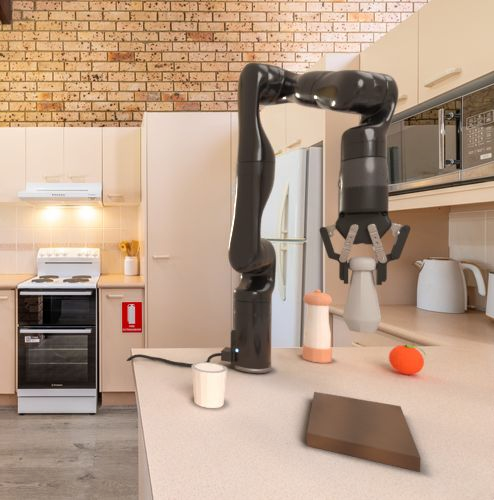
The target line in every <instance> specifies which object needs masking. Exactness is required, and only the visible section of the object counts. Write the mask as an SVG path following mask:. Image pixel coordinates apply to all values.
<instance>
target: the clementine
mask: <svg viewBox="0 0 494 500" xmlns="http://www.w3.org/2000/svg"><path fill="white" fill-rule="evenodd" d="M419 350H420V351H421V352H423V354H422V353H421V352H420V351H419ZM423 355H424V356H425V357H427V356H426V353H425V351H424V350H423V349H421V348H419V347H418V346H414V345H407V344H403V345H402V344H400V345H397V346H395V347H393V348H392V349H391V350H390V352H389V354H388V361H389V364H390V366H392V368H393V370H395V371H396V372H398V373H400V374H402V375H407V376H409V375H415V374H418V373H420V372H421V371H422V369H423V368H424V365H425V359H424V357H423Z"/></svg>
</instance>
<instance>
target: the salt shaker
mask: <svg viewBox="0 0 494 500" xmlns="http://www.w3.org/2000/svg"><path fill="white" fill-rule="evenodd" d="M347 263H348V270H349V271H351V276H350V280H349V281H350V282H349V284H348V285H349V286H348V291H347V295H346V299H345V303H344V309H343V312H342V319H343V321H344V323H345V324H346V326H347V329H348V330H349V332H354V333H360V334H373V333H376V332H377V330H378V328H379V326H380V324H381V322H382V313H381V308H380V303H379V298H378V293H377V288H376V281H375V277H374V272H375V271H376V268H377V263H378V261H377V259H375V258H374V257H370V256H353V257H350V258H349V259H348V260H347Z"/></svg>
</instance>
